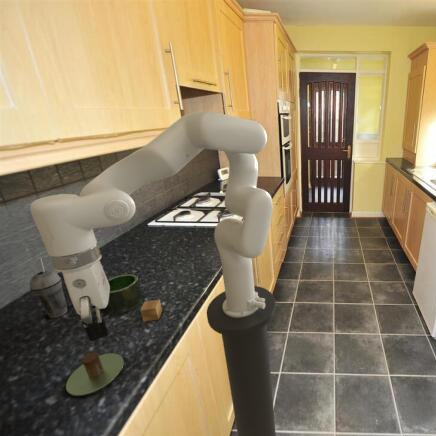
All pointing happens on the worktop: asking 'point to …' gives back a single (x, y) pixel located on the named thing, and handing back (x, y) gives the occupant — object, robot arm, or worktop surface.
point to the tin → (124, 294)
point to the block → (151, 310)
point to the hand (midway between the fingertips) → (101, 323)
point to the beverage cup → (49, 292)
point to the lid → (94, 373)
